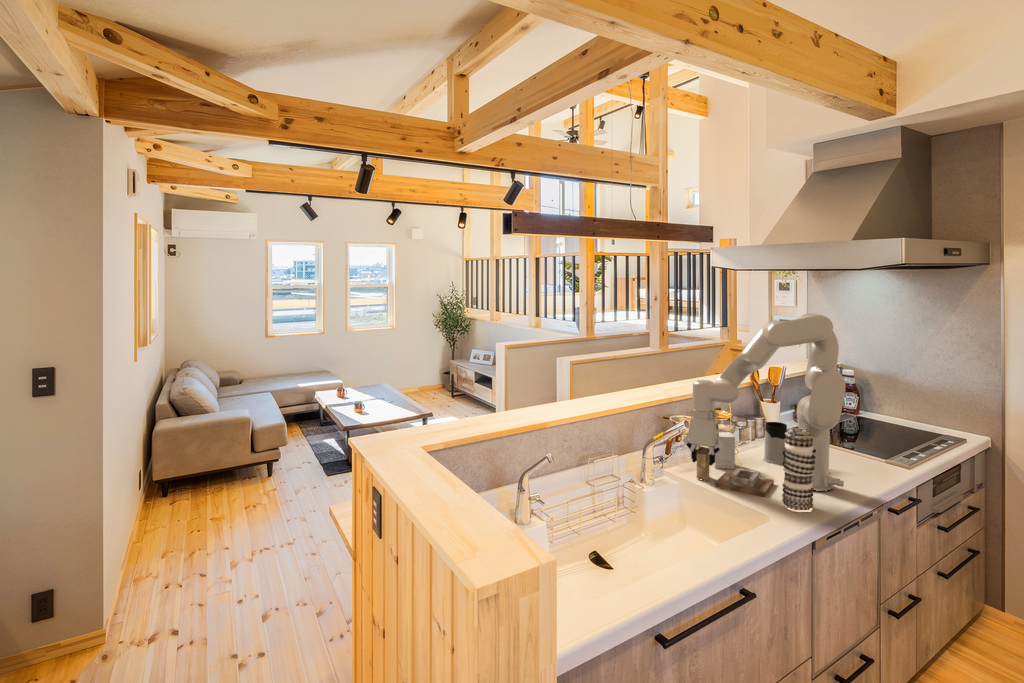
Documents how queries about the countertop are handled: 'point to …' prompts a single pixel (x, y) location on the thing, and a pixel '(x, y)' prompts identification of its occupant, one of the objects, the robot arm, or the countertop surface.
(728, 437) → the supplement box
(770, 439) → the glass holder
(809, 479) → the decorative candle
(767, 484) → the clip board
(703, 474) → the brown upright block
